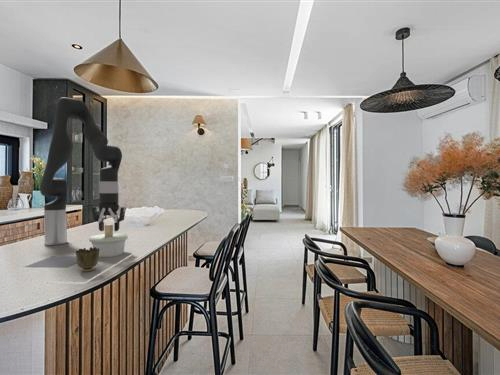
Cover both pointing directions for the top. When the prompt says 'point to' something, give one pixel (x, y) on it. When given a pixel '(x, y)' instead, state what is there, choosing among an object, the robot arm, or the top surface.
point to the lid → (108, 236)
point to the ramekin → (110, 248)
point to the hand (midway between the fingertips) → (109, 230)
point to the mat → (56, 262)
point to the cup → (87, 258)
